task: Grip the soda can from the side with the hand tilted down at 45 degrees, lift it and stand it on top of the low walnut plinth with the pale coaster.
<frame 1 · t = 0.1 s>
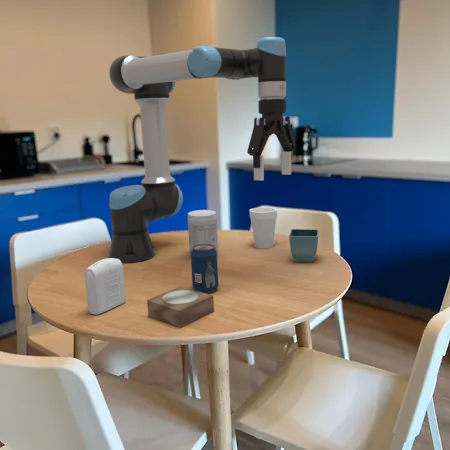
hand: (273, 177, 135), 28 cm above the table, tool pointing down, fingers open, 13 cm apart
supplement tub: (204, 256, 160), on the table
foam cup: (263, 246, 169), on the table
plinth: (181, 313, 115), on the table
soda can: (205, 290, 129), on the table
flower pot: (304, 260, 152), on the table
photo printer: (107, 308, 120), on the table
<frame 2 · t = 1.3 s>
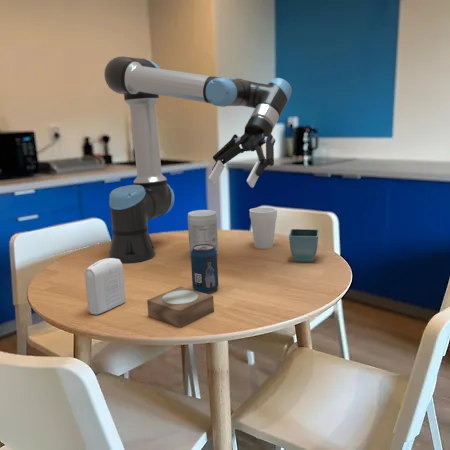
hand: (230, 183, 132), 27 cm above the table, tool tilted 45°, fingers open, 13 cm apart
nothing on the table moved.
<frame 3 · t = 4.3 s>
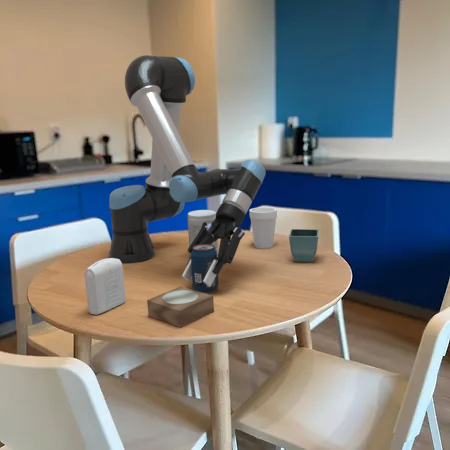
hand: (196, 281, 126), 4 cm above the table, tool tilted 45°, fingers closed on soda can, 7 cm apart
soda can: (205, 290, 129), on the table, touching gripper
everything else where it was.
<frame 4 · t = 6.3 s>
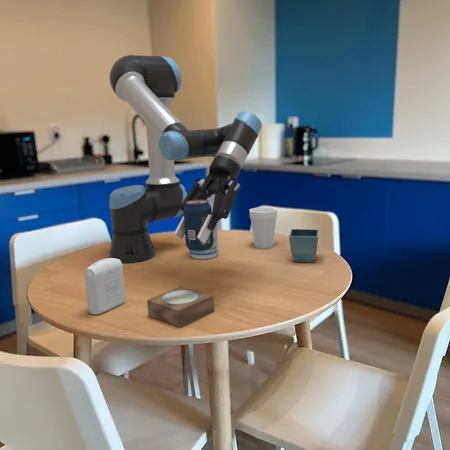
hand: (189, 238, 117), 17 cm above the table, tool tilted 45°, fingers closed on soda can, 7 cm apart
soda can: (200, 249, 120), point 13 cm above the table, touching gripper
everything else where it was.
when the fingers open (9 cm above the table, at t = 8.6 s): soda can drops 1 cm, resting on plinth.
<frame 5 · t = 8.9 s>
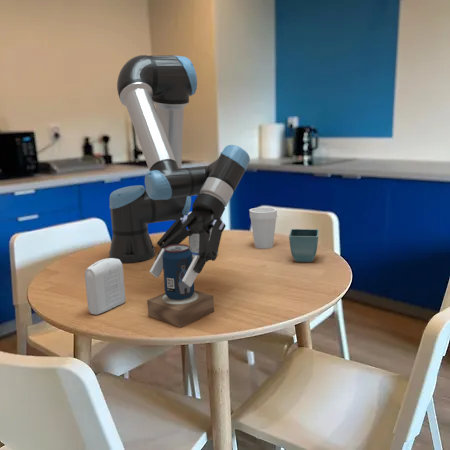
hand: (169, 279, 110), 10 cm above the table, tool tilted 45°, fingers open, 10 cm apart
soda can: (180, 297, 114), point 4 cm above the table, touching plinth
everything else where it was.
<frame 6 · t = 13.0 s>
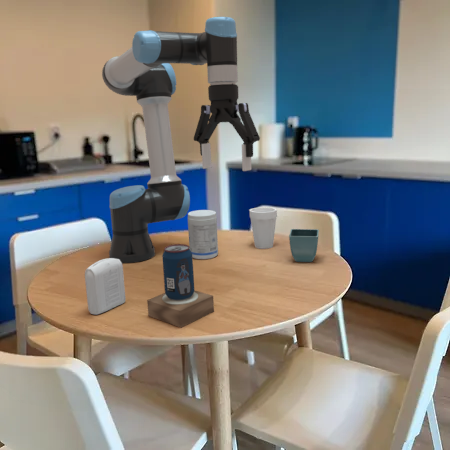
hand: (226, 169, 125), 32 cm above the table, tool pointing down, fingers open, 13 cm apart
nothing on the table moved.
at the end: soda can 0.2 cm from the plinth (horizontally); soda can touching plinth; soda can tilted 0° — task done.
